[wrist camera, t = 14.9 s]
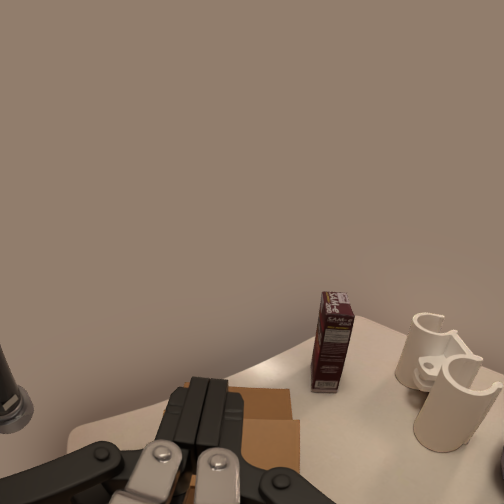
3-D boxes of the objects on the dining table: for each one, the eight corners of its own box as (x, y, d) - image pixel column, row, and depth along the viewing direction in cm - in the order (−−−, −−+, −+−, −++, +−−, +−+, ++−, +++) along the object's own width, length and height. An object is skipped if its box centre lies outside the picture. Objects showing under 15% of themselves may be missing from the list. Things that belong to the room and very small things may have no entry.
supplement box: (309, 364, 54) (321, 290, 50) (333, 365, 54) (348, 292, 49) (309, 393, 46) (324, 313, 42) (337, 394, 45) (356, 315, 41)
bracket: (387, 364, 53) (403, 312, 50) (427, 362, 52) (444, 312, 49) (422, 457, 29) (458, 399, 26) (470, 446, 28) (507, 389, 25)
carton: (284, 524, 22) (299, 490, 19) (170, 515, 22) (153, 478, 19) (281, 437, 36) (289, 388, 34) (191, 431, 37) (184, 381, 34)
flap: (298, 491, 19) (299, 491, 19) (155, 478, 20) (153, 478, 19) (299, 420, 25) (299, 419, 24) (164, 410, 25) (163, 409, 25)
